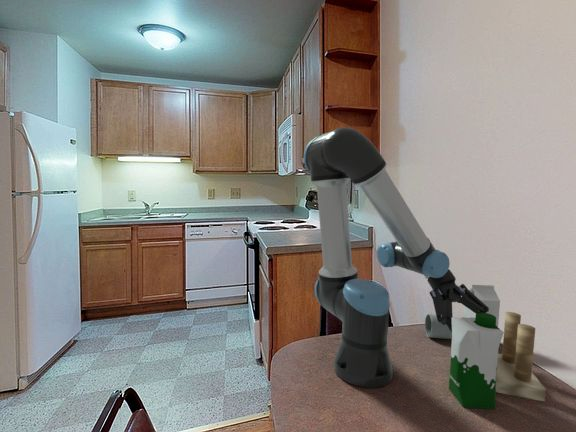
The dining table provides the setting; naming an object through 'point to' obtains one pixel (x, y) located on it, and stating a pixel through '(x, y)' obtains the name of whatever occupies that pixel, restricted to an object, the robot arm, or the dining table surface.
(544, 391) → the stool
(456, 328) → the soya milk
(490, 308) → the milk carton
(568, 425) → the dining table surface
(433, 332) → the ceramic mug
